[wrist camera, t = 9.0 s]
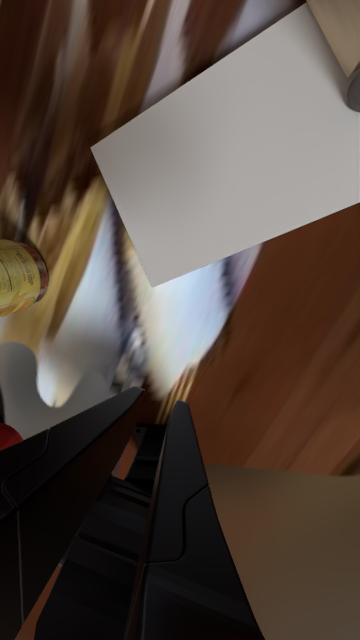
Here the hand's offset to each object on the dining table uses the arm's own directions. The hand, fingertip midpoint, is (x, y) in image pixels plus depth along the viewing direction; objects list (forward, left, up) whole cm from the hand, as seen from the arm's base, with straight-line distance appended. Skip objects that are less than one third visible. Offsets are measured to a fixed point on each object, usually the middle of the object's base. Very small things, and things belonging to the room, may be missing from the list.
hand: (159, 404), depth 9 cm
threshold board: (+10, -4, -13) cm, 17 cm away
